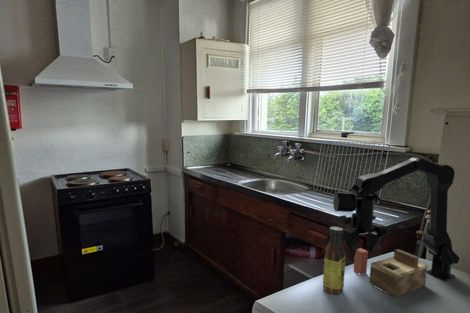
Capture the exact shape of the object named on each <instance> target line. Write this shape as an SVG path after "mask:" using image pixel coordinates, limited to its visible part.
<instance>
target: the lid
mask: <svg viewBox="0 0 470 313" xmlns="http://www.w3.org/2000/svg"><path fill="white" fill-rule="evenodd" d="M419 259H420V258H419V256H417V255H414V254H413V253H409V252H408V251H404V250H402V249H398V248H397V249H394V253H393V256H391V257H387V258H384V259H379V260H377V261H374V262H370V267H371V266H372V267H374V268H376V269H378V270H380V271H382V272H384V273H386V274H388V275H390V276H392V277H394V278H399V277H402V276H405V275H408V274H411V273H414V272H417V271H420V270H423V269H426V268H427V269H428V264H426V263H424V262H420V261H419ZM386 266H391V267H393V268H396V270H391V269H389V268H387V267H386Z"/></svg>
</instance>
